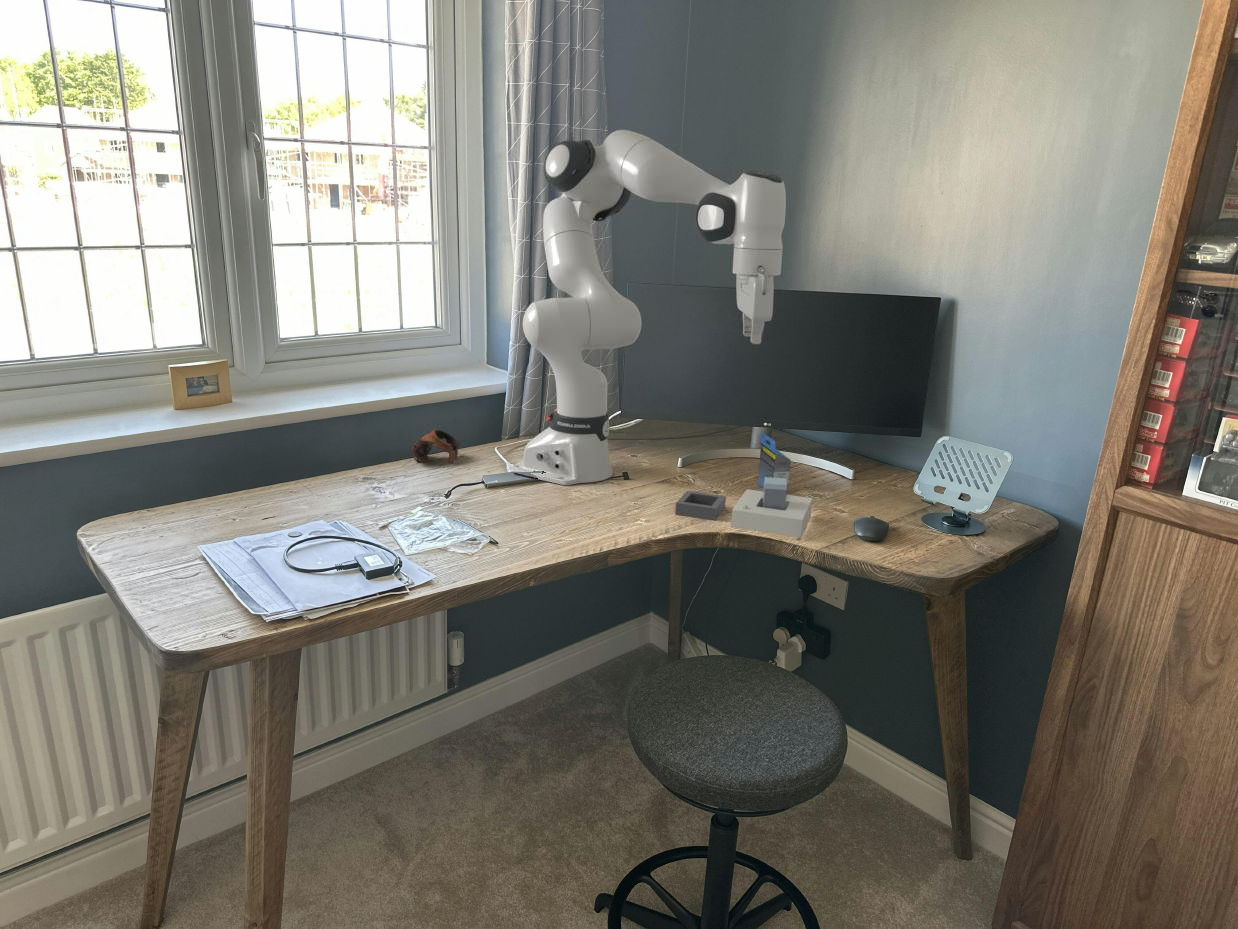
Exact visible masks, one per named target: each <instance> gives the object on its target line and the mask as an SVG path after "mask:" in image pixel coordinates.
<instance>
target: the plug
mask: <svg viewBox="0 0 1238 929" xmlns="http://www.w3.org/2000/svg"><path fill="white" fill-rule="evenodd" d="M786 492H787V482H786V478H771V477H765V479H764V488H763V504H762V507H763V508H770V509H777V510H784V511H785V503H786Z"/></svg>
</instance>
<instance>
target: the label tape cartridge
mask: <svg viewBox="0 0 1238 929" xmlns="http://www.w3.org/2000/svg"><path fill="white" fill-rule="evenodd" d="M760 432H761V434H760V435H761V436H760V437H761V438H760V452H759V454H760V455H759V465H758V466H759V467H758V478H757V479H758V480H757V486H758V487H760V488H762V489H764V479H765V477H771V478H786V482H787V492H786V495H789V494H788V493H789V492H788V491H789V480H790V472H791V471H790V470H791V462H792V461H791V459H790V458H789V457H788V456H786V455H785V454H784V453H782V452H781V451H780V450H778V449H777V448H776V443H777V441H775V440H774V439H773V438H772V437H770V436H769V435H768V434H766V433H765V432H764V431H762V430H761V431H760ZM767 441H768V443H767Z"/></svg>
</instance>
